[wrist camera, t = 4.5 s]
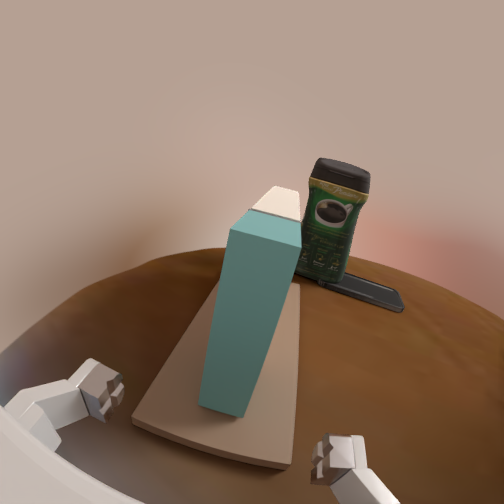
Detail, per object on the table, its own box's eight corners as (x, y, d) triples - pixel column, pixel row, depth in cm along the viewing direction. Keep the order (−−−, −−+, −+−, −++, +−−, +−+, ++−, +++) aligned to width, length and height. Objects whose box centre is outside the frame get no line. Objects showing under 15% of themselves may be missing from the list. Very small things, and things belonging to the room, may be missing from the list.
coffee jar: (341, 273, 47) (373, 173, 41) (339, 291, 40) (378, 171, 34) (291, 256, 49) (318, 156, 43) (280, 271, 42) (312, 151, 36)
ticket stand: (227, 271, 38) (247, 178, 33) (297, 291, 37) (325, 198, 33) (132, 423, 13) (120, 223, 9) (285, 470, 13) (398, 298, 8)
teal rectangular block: (216, 358, 20) (249, 208, 16) (255, 369, 20) (301, 222, 16) (196, 404, 15) (228, 228, 11) (243, 418, 15) (302, 248, 11)
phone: (322, 264, 47) (398, 290, 44) (320, 270, 48) (395, 295, 44) (317, 280, 40) (405, 310, 36) (315, 287, 40) (402, 316, 37)
